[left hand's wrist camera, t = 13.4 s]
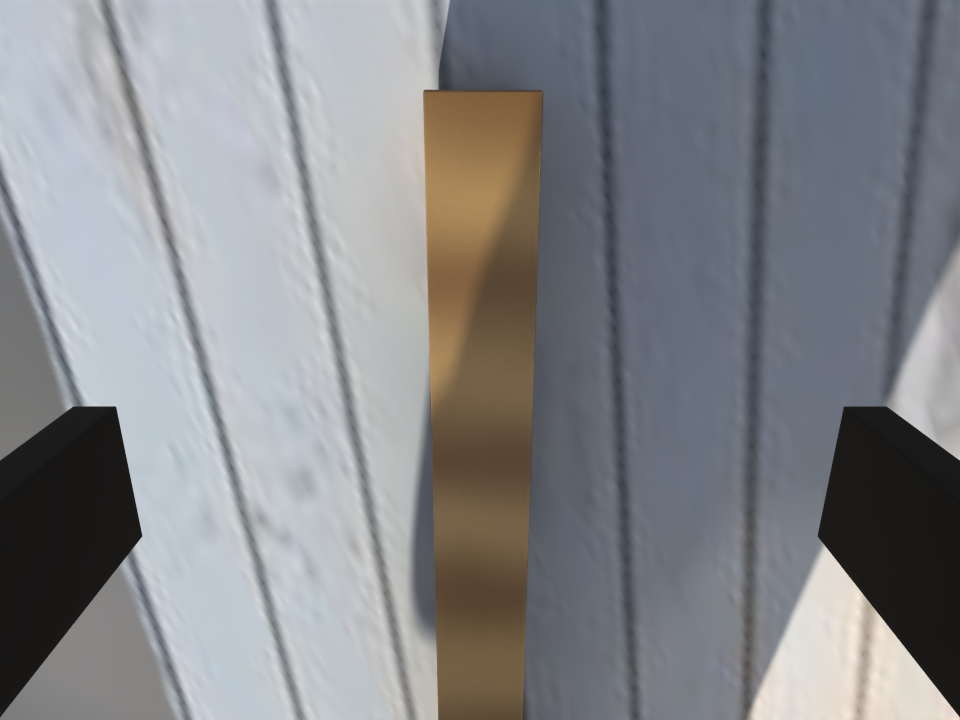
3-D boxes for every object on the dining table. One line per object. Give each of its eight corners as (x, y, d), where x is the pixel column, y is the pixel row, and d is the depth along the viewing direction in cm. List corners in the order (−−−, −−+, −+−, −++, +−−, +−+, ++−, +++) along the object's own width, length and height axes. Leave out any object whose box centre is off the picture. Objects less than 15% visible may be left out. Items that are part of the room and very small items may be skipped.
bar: (434, 92, 34) (423, 89, 27) (530, 93, 34) (543, 90, 27) (450, 957, 58) (446, 1070, 51) (507, 957, 58) (511, 1070, 51)
